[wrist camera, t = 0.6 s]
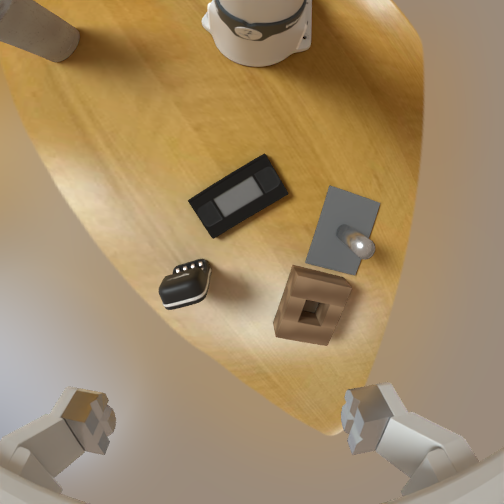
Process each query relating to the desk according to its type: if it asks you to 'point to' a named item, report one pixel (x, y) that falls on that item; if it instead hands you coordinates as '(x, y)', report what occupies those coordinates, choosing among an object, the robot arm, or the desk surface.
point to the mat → (332, 216)
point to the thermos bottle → (36, 30)
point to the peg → (355, 241)
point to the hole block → (315, 289)
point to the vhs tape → (238, 196)
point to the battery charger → (186, 284)
